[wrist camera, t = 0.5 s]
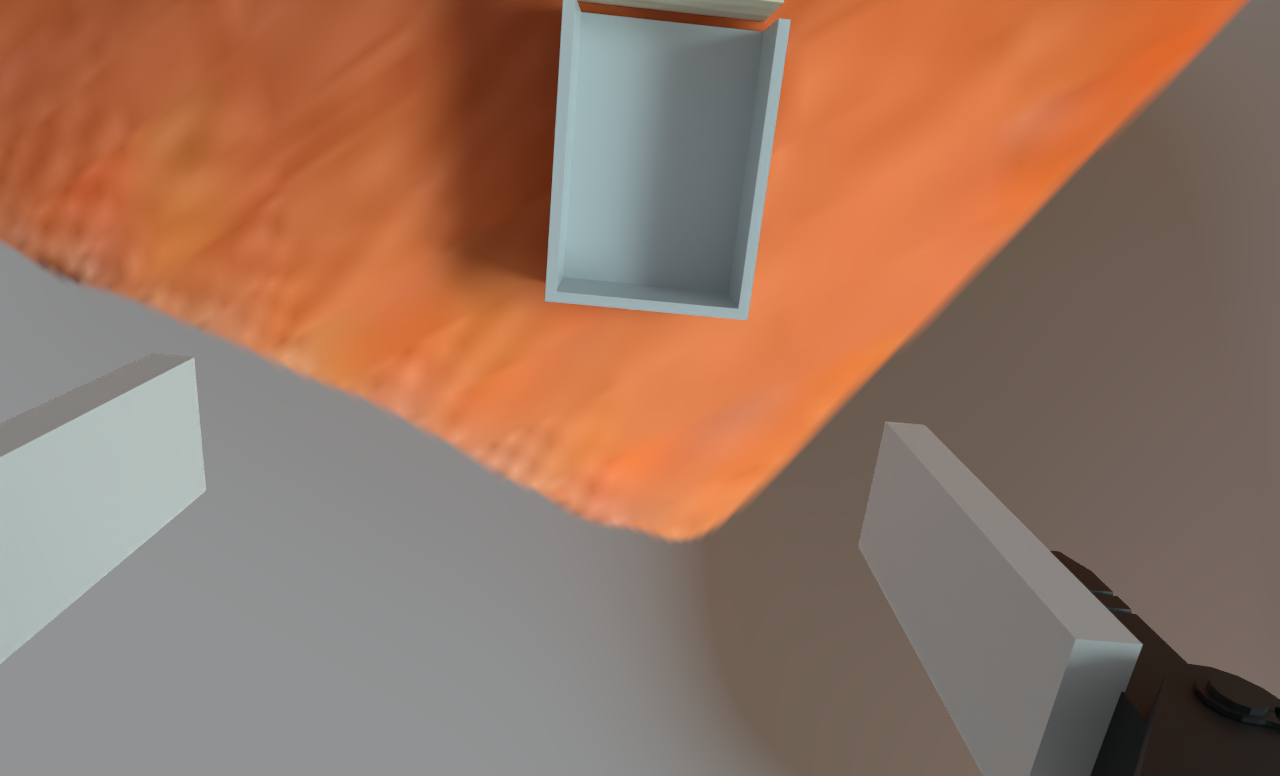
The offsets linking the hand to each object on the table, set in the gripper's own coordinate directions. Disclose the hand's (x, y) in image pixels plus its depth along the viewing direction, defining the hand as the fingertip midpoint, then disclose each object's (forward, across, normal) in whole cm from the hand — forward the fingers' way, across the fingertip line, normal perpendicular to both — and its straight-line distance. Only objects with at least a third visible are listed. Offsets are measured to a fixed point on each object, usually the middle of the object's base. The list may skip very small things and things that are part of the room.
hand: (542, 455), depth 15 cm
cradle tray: (+26, +3, +5) cm, 27 cm away
